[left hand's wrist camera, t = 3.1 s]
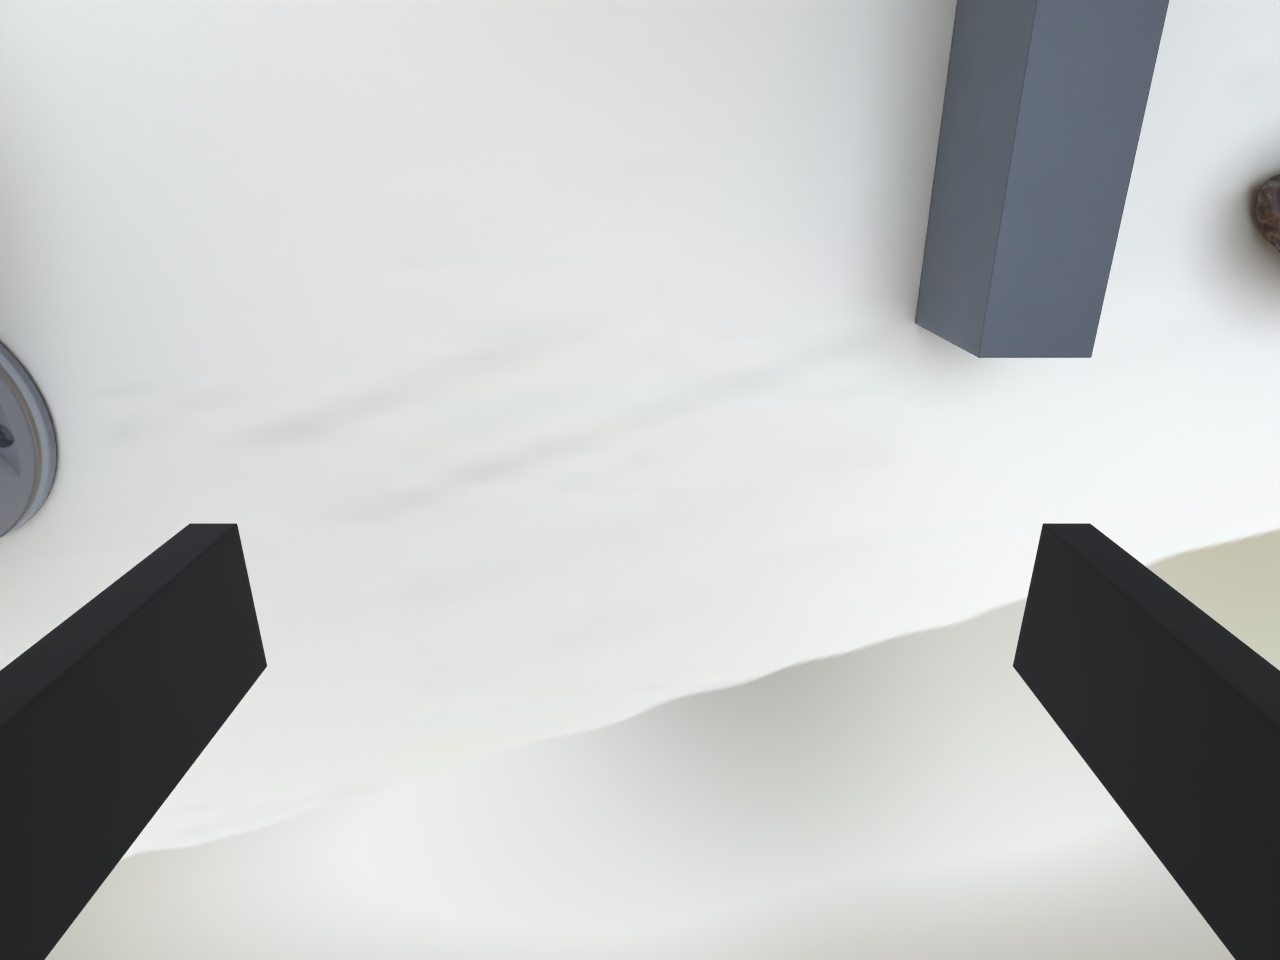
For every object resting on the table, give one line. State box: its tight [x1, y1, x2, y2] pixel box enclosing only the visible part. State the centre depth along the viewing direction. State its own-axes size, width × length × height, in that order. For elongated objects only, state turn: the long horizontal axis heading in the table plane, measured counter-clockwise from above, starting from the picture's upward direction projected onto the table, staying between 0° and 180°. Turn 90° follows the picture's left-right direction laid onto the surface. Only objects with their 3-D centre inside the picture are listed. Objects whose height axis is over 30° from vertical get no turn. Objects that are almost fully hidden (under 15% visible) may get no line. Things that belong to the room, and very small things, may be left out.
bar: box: [915, 0, 1169, 358], centre depth 33 cm, size 27×5×8 cm, turn 0°
